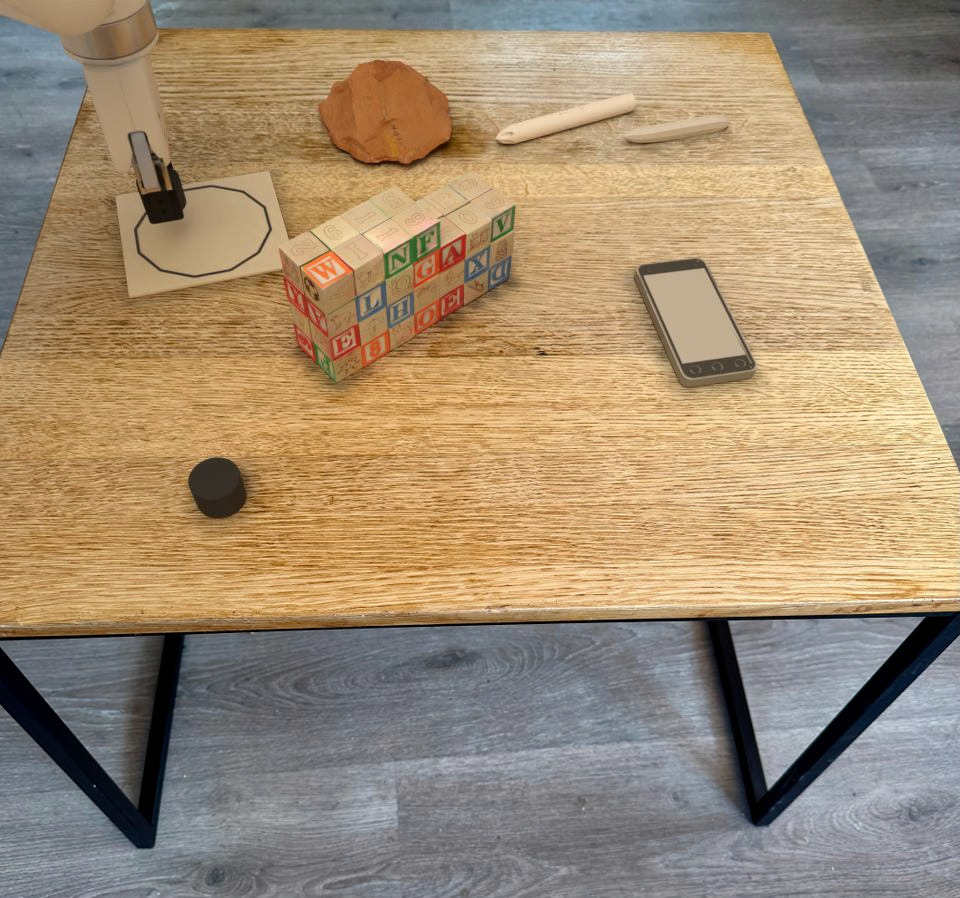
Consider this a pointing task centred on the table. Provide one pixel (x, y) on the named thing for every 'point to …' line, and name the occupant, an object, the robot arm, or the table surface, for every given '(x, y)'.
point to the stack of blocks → (394, 269)
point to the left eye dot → (176, 179)
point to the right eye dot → (217, 487)
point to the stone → (386, 113)
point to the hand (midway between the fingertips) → (164, 202)
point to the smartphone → (694, 322)
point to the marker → (567, 119)
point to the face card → (203, 236)
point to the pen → (677, 129)
